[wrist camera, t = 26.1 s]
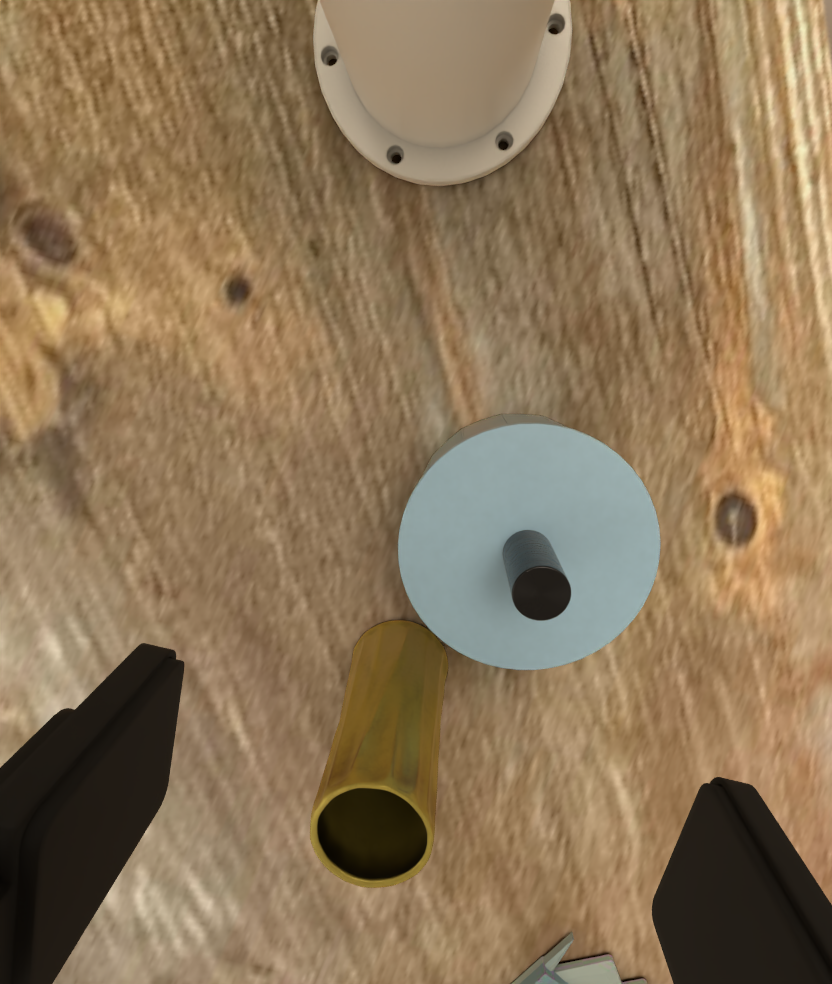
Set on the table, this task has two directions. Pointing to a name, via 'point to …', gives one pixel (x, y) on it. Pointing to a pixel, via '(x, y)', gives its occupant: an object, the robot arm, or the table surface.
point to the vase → (384, 760)
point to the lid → (528, 546)
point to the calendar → (572, 969)
